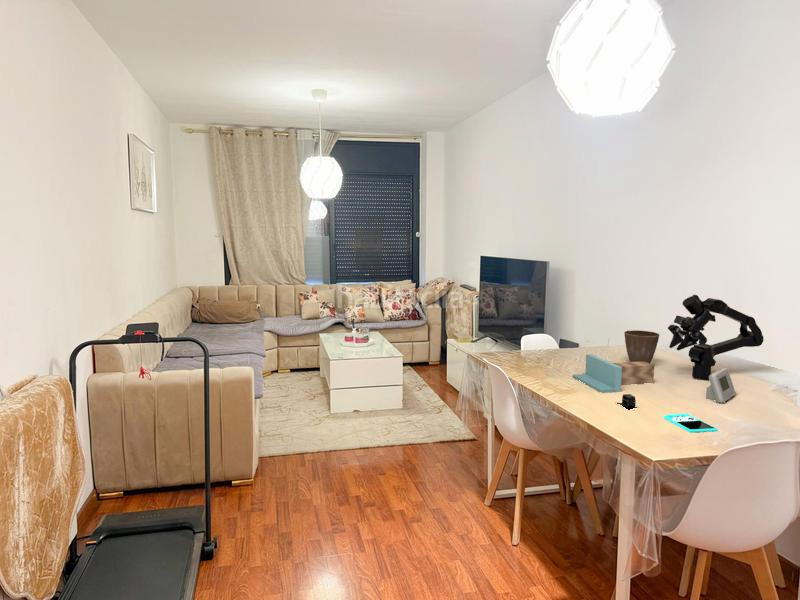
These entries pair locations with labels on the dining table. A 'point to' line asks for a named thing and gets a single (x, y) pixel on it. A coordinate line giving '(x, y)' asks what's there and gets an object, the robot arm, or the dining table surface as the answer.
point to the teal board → (601, 374)
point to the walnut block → (636, 372)
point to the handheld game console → (689, 423)
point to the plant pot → (641, 345)
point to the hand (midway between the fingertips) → (673, 348)
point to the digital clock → (720, 386)
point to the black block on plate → (628, 401)
